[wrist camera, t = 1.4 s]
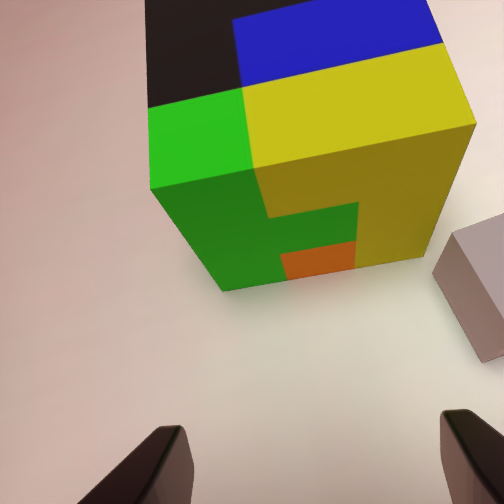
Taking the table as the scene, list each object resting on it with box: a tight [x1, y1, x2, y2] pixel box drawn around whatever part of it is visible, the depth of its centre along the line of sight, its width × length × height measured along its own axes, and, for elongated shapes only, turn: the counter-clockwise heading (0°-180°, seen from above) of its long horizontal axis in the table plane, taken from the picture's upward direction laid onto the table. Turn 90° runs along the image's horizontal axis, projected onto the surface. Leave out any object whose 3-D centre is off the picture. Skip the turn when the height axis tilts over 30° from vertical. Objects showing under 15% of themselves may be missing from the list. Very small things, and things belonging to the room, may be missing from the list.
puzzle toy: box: [145, 0, 477, 292], centre depth 21 cm, size 10×10×10 cm
